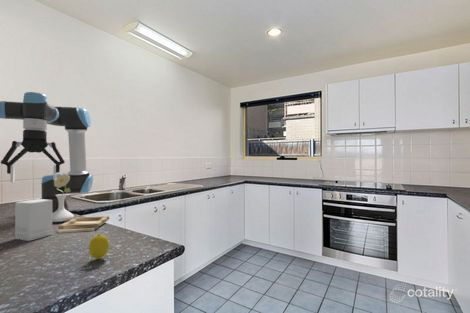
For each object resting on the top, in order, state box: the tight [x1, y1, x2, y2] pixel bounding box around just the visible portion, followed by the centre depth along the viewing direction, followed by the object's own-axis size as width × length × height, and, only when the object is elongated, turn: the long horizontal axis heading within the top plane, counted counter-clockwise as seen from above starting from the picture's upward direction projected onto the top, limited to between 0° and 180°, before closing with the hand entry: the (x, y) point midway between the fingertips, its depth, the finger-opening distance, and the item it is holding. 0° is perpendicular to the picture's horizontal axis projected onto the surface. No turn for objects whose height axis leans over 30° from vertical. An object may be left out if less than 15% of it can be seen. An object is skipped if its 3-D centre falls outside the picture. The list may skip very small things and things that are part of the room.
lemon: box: [88, 233, 110, 260], centre depth 76 cm, size 6×6×8 cm
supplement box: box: [14, 198, 53, 242], centre depth 99 cm, size 9×9×15 cm
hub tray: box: [57, 215, 110, 234], centre depth 115 cm, size 20×16×2 cm
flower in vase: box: [52, 172, 75, 223], centre depth 124 cm, size 13×11×25 cm
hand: (34, 181), depth 99 cm, fingers open, 13 cm apart
